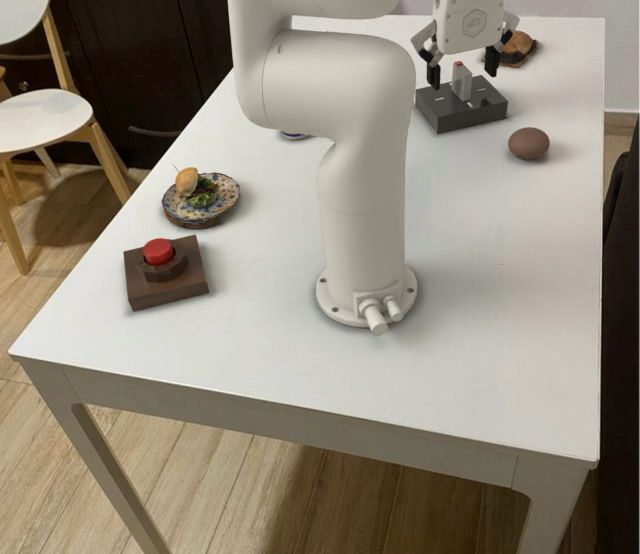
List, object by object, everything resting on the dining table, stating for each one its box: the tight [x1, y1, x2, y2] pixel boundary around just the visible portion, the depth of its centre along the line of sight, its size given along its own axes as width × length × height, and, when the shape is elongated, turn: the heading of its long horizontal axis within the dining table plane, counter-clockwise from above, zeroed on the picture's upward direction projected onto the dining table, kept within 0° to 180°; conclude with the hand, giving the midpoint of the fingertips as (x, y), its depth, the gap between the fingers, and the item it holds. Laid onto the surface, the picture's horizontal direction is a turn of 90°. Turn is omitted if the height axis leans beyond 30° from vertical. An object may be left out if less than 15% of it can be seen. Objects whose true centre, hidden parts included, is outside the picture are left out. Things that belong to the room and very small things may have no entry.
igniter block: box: [122, 234, 210, 313], centre depth 86 cm, size 10×10×4 cm
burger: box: [161, 164, 241, 229], centre depth 96 cm, size 12×12×8 cm
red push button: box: [142, 237, 174, 266], centre depth 84 cm, size 4×4×2 cm
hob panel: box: [414, 74, 509, 135], centre depth 109 cm, size 10×12×3 cm
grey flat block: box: [451, 60, 473, 101], centre depth 106 cm, size 4×1×5 cm, turn 15°
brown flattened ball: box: [507, 126, 551, 160], centre depth 98 cm, size 6×6×4 cm
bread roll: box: [481, 29, 540, 68], centre depth 121 cm, size 11×8×4 cm
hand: (462, 80), depth 106 cm, fingers open, 9 cm apart
